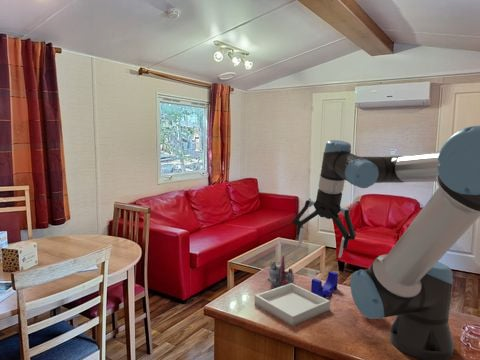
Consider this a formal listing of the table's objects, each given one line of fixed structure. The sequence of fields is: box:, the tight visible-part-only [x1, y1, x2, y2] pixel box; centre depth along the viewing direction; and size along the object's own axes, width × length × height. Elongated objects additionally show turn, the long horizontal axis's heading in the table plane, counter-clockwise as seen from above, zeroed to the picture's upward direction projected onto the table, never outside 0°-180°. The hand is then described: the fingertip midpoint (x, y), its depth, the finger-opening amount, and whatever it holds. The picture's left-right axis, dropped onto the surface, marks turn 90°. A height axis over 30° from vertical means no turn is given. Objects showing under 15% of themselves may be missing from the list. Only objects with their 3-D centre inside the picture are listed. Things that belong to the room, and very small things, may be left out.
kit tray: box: [254, 282, 331, 327], centre depth 114 cm, size 17×17×3 cm
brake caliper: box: [267, 255, 295, 288], centre depth 132 cm, size 11×11×12 cm
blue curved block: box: [310, 270, 339, 299], centre depth 125 cm, size 12×4×6 cm, turn 133°
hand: (319, 249), depth 117 cm, fingers open, 13 cm apart
